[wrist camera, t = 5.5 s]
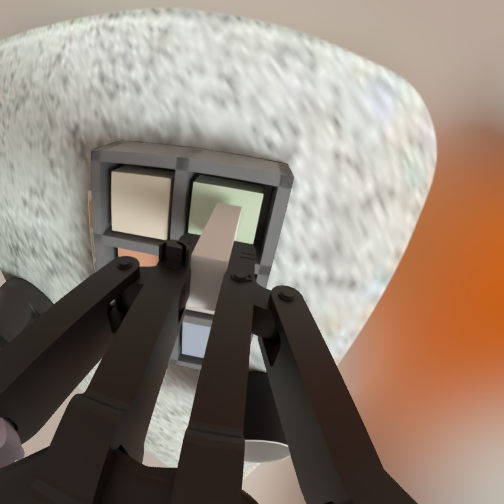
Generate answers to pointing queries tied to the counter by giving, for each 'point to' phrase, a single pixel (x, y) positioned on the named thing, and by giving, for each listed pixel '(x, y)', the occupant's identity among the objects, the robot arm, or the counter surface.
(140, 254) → the orange square block
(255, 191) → the key
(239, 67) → the counter surface
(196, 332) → the key
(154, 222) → the key
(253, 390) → the mug
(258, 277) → the gray compartment tray
